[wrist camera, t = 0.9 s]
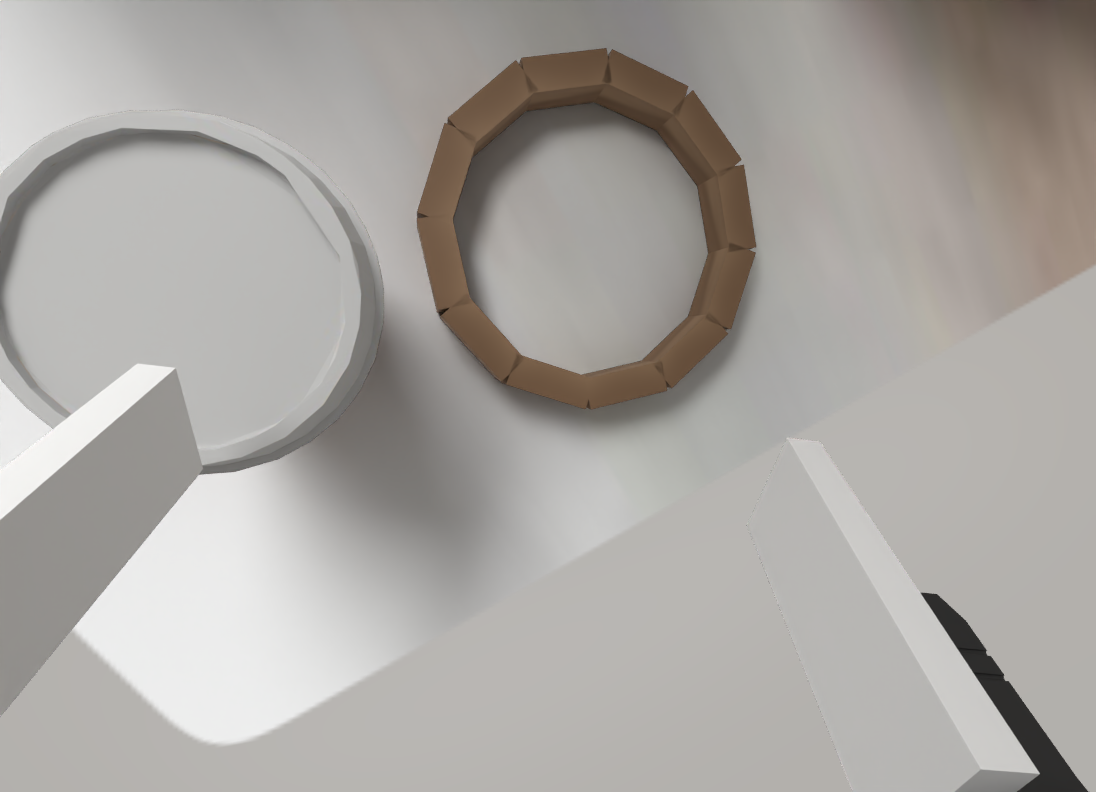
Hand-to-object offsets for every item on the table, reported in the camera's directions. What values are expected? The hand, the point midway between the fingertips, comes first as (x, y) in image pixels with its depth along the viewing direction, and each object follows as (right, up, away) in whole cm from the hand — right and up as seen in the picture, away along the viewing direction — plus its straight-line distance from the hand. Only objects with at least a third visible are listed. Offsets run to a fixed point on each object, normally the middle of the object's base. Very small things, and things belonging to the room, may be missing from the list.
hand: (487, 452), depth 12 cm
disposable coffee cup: (-10, +5, +13) cm, 17 cm away
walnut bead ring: (+3, +9, +15) cm, 18 cm away
